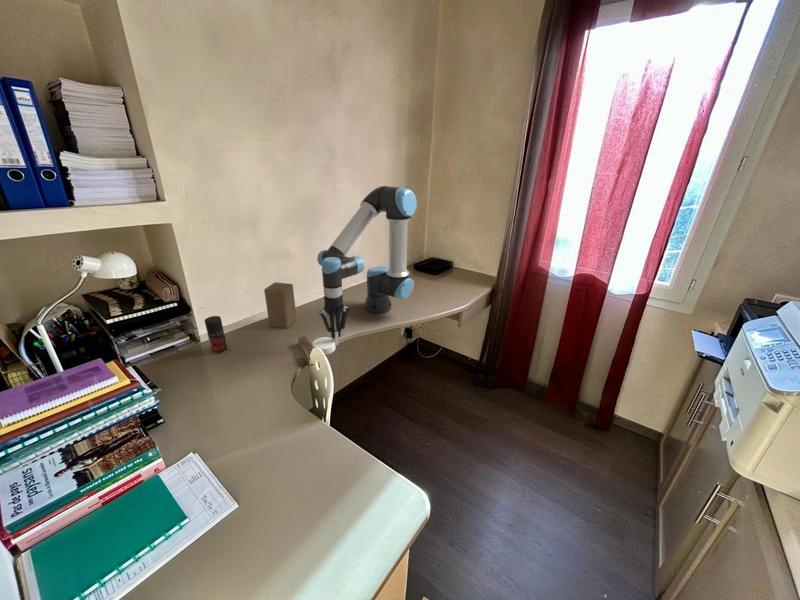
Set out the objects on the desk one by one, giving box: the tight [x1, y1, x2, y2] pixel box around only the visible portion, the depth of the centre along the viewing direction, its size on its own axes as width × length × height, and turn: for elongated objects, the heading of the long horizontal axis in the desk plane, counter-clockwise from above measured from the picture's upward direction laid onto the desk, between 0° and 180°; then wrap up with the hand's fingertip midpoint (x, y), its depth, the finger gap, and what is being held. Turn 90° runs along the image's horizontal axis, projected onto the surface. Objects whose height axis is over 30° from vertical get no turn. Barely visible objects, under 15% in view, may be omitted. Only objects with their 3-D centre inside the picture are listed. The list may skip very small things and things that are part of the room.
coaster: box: [311, 336, 337, 356], centre depth 146 cm, size 10×10×4 cm
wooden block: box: [263, 282, 297, 329], centre depth 163 cm, size 10×10×20 cm
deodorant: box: [204, 315, 228, 354], centre depth 141 cm, size 6×6×15 cm
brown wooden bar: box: [297, 335, 313, 366], centre depth 143 cm, size 4×18×4 cm, turn 28°
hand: (336, 343), depth 149 cm, fingers closed
